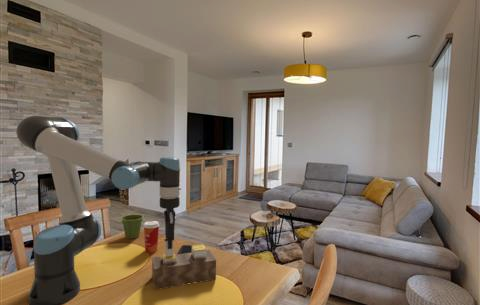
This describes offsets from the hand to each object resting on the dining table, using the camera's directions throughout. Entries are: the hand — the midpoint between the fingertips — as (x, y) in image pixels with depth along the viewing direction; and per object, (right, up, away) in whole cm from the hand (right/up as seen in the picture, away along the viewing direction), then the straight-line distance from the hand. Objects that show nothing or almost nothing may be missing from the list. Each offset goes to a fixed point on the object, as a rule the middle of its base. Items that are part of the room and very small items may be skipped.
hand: (169, 255), depth 107 cm
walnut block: (+5, -10, +3) cm, 12 cm away
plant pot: (-33, -7, +45) cm, 56 cm away
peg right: (+11, -5, +5) cm, 13 cm away
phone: (+2, -9, +26) cm, 28 cm away
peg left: (0, -7, 0) cm, 7 cm away
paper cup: (-16, -8, +28) cm, 33 cm away
